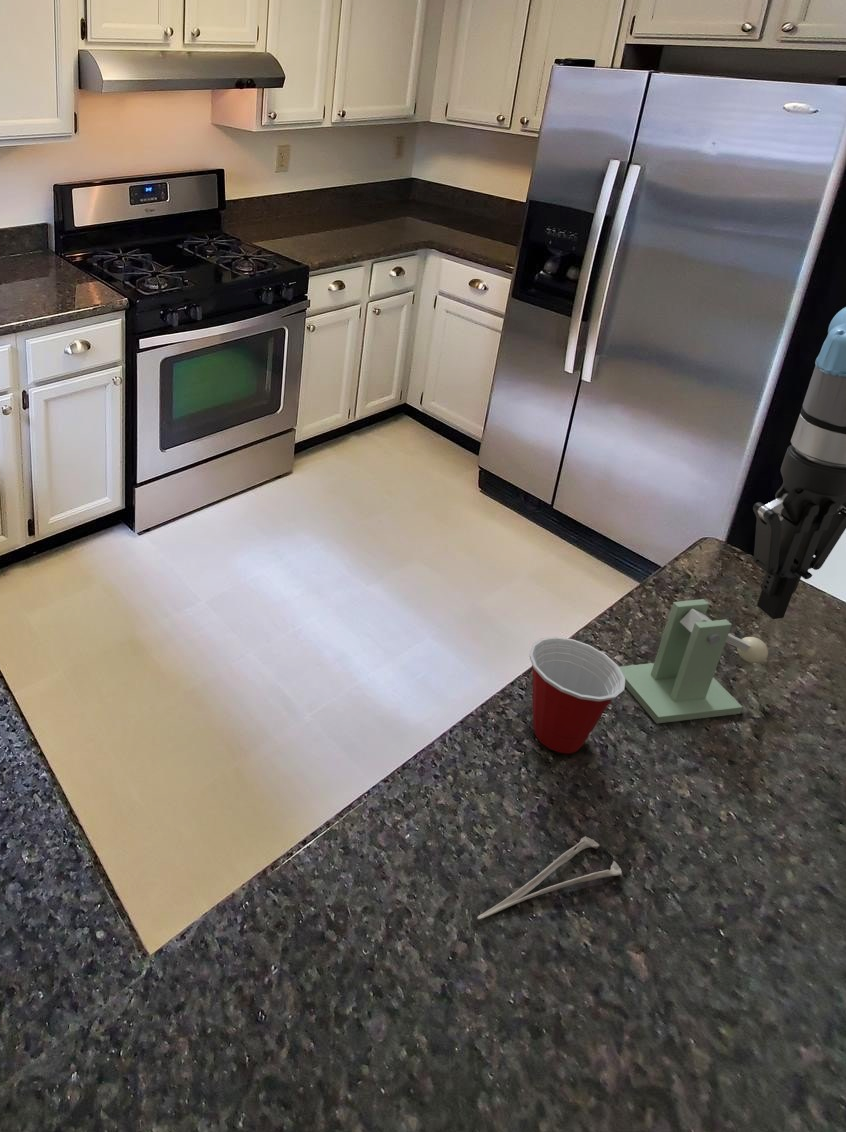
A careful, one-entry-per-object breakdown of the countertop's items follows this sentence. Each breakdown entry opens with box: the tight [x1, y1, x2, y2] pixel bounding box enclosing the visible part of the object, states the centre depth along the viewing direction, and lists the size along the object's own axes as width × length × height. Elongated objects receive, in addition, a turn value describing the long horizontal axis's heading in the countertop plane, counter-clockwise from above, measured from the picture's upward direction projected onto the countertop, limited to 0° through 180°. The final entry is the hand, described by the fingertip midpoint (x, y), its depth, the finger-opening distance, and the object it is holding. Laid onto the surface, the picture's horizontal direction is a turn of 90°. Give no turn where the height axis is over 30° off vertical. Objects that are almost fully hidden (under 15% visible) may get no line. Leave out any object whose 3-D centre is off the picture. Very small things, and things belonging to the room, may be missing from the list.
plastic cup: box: [528, 636, 626, 754], centre depth 99 cm, size 11×11×12 cm
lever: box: [680, 609, 769, 664], centre depth 105 cm, size 14×3×3 cm, turn 98°
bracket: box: [619, 598, 743, 725], centre depth 105 cm, size 12×9×14 cm
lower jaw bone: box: [476, 835, 623, 921], centre depth 84 cm, size 17×5×2 cm, turn 112°
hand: (769, 611), depth 104 cm, fingers closed
